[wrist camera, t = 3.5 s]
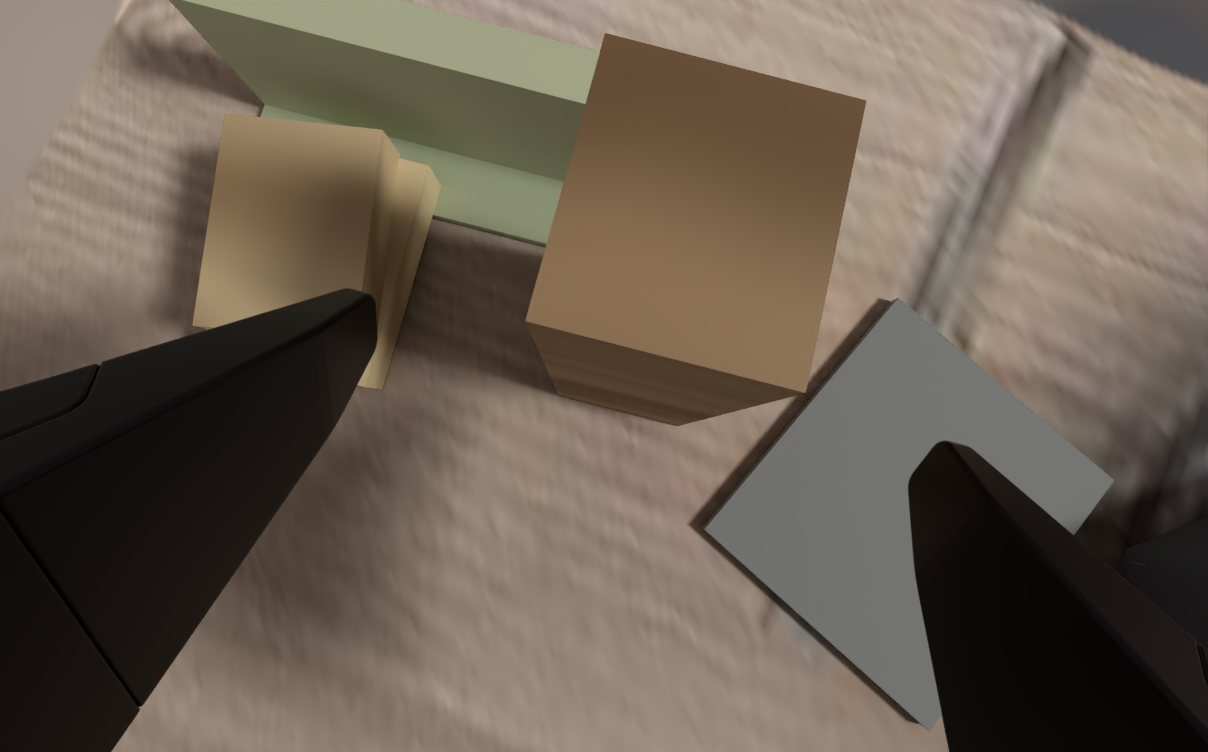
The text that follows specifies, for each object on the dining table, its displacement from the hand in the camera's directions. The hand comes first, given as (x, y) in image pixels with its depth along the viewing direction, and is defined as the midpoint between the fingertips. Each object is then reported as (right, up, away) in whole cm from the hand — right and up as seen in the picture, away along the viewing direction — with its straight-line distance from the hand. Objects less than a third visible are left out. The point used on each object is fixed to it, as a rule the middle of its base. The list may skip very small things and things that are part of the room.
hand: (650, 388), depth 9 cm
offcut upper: (-9, +4, +8) cm, 13 cm away
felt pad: (+9, -4, +10) cm, 14 cm away
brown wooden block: (0, +1, +10) cm, 10 cm away
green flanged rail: (-3, +7, +11) cm, 13 cm away
